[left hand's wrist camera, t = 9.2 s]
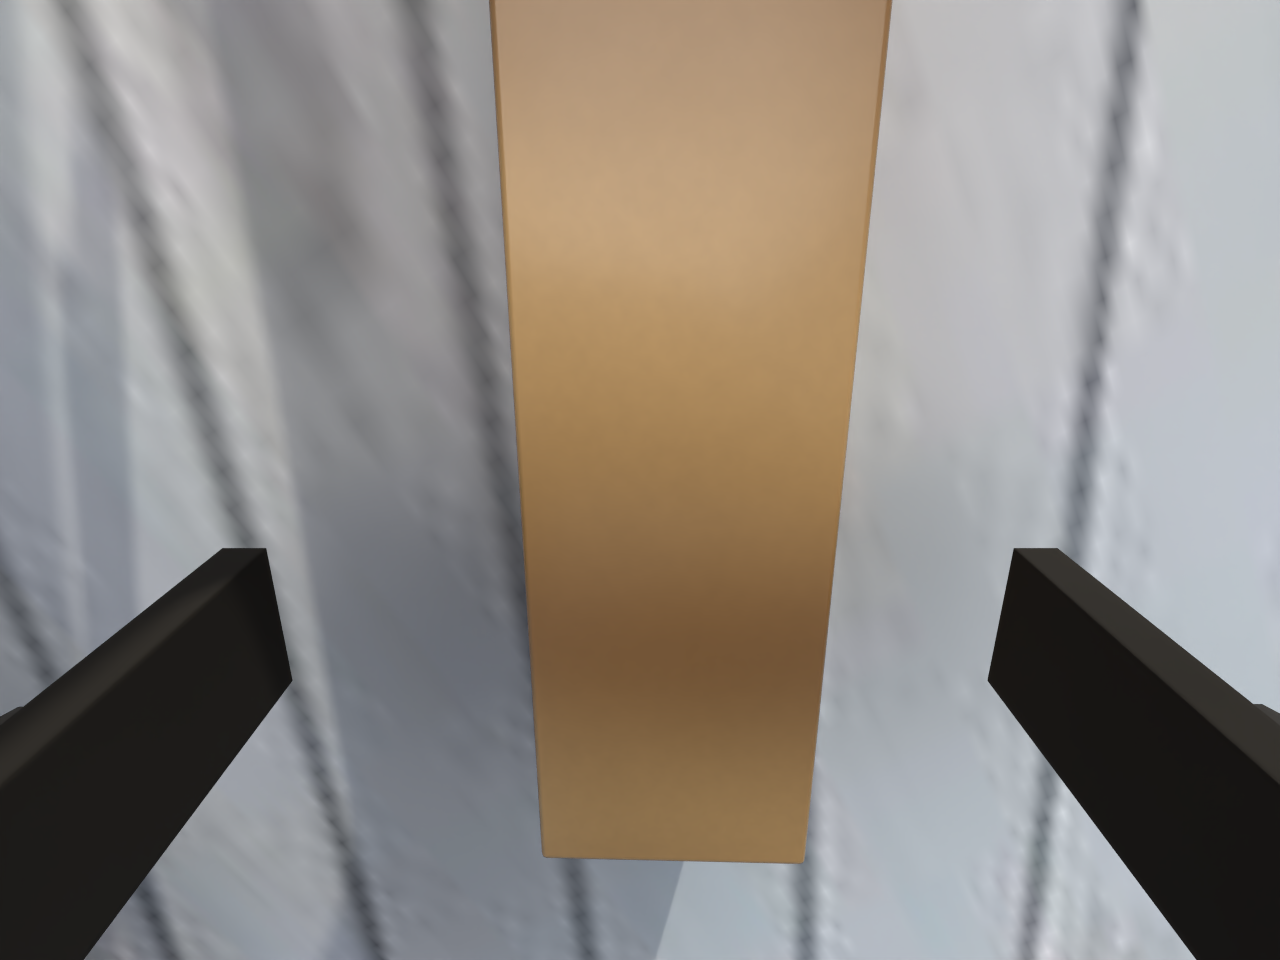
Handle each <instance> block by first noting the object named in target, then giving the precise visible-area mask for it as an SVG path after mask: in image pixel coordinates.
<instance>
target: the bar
mask: <svg viewBox="0 0 1280 960" xmlns="http://www.w3.org/2000/svg"><path fill="white" fill-rule="evenodd" d="M489 7H490V24H491V40H492V56H493V72H494V88H495V104H496V120H497V136H498V152H499V168H500V184H501V201H502V217H503V233H504V249H505V265H506V281H507V297H508V313H509V329H510V345H511V361H512V378H513V394H514V410H515V426H516V442H517V458H518V474H519V490H520V506H521V522H522V538H523V555H524V571H525V587H526V603H527V619H528V635H529V651H530V667H531V683H532V699H533V715H534V732H535V748H536V764H537V780H538V796H539V812H540V828H541V844H542V854H543V856H544V857H546V858H577V859H618V860H660V861H701V862H743V863H785V864H801V863H803V861H804V858H805V848H806V839H807V829H808V819H809V809H810V799H811V790H812V780H813V770H814V760H815V751H816V741H817V731H818V721H819V712H820V702H821V692H822V682H823V673H824V663H825V653H826V643H827V634H828V624H829V614H830V604H831V595H832V585H833V575H834V565H835V556H836V546H837V536H838V526H839V516H840V507H841V497H842V487H843V477H844V468H845V458H846V448H847V438H848V429H849V419H850V409H851V399H852V390H853V380H854V370H855V360H856V351H857V341H858V331H859V321H860V312H861V302H862V292H863V282H864V273H865V263H866V253H867V243H868V234H869V224H870V214H871V204H872V194H873V185H874V175H875V165H876V155H877V146H878V136H879V126H880V116H881V107H882V97H883V87H884V77H885V68H886V58H887V48H888V38H889V29H890V19H891V9H892V0H489Z"/></svg>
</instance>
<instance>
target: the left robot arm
mask: <svg viewBox="0 0 1280 960" xmlns="http://www.w3.org/2000/svg"><path fill="white" fill-rule="evenodd" d="M291 682H292V676H291V671H290V666H289V661H288V656H287V651H286V646H285V641H284V636H283V631H282V626H281V621H280V615H279V610H278V605H277V600H276V595H275V590H274V585H273V580H272V575H271V570H270V565H269V560H268V555H267V550H266V548H222V549H221V550H220V551H218V552H217V553H216V554H215V555H213V556H212V557H211V558H210V559H208V560H207V561H206V562H205V563H203V564H202V565H201V566H200V567H198V568H197V569H196V570H195V571H193V572H192V573H191V574H190V575H188V576H187V577H186V578H185V579H183V580H182V581H181V582H180V583H178V584H177V585H176V586H175V587H173V588H172V589H171V590H169V591H168V592H167V593H166V594H164V595H163V596H162V597H161V598H159V599H158V600H157V601H156V602H154V603H153V604H152V605H151V606H149V607H148V608H147V609H146V610H144V611H143V612H142V613H141V614H139V615H138V616H137V617H136V618H134V619H133V620H132V621H131V622H129V623H128V624H127V625H126V626H124V627H123V628H122V629H120V630H119V631H118V632H117V633H115V634H114V635H113V636H112V637H110V638H109V639H108V640H107V641H105V642H104V643H103V644H102V645H100V646H99V647H98V648H97V649H95V650H94V651H93V652H92V653H90V654H89V655H88V656H87V657H85V658H84V659H83V660H82V661H80V662H79V663H78V664H77V665H75V666H74V667H73V668H72V669H70V670H69V671H68V672H66V673H65V674H64V675H63V676H61V677H60V678H59V679H58V680H56V681H55V682H54V683H53V684H51V685H50V686H49V687H48V688H46V689H45V690H44V691H43V692H41V693H40V694H39V695H38V696H36V697H35V698H34V699H33V700H31V701H30V702H29V703H28V704H26V705H25V706H24V707H17V708H16V709H14V710H12V711H10V712H8V713H6V714H4V715H2V716H0V960H84V959H85V957H86V956H87V955H88V953H89V952H90V951H91V949H92V948H93V947H94V945H95V944H96V943H97V941H98V940H99V938H100V937H101V936H102V934H103V933H104V932H105V930H106V929H107V928H108V926H109V925H110V924H111V922H112V921H113V920H114V918H115V917H116V916H117V914H118V913H119V912H120V910H121V909H122V908H123V906H124V905H125V904H126V902H127V901H128V900H129V898H130V897H131V896H132V894H133V893H134V892H135V890H136V889H137V888H138V886H139V885H140V884H141V882H142V881H143V880H144V878H145V877H146V876H147V874H148V873H149V872H150V870H151V869H152V868H153V866H154V865H155V864H156V862H157V861H158V860H159V858H160V857H161V856H162V854H163V853H164V852H165V850H166V849H167V848H168V846H169V845H170V844H171V842H172V841H173V840H174V838H175V837H176V836H177V834H178V833H179V832H180V830H181V829H182V828H183V826H184V825H185V824H186V822H187V821H188V820H189V818H190V817H191V816H192V814H193V813H194V811H195V810H196V809H197V807H198V806H199V805H200V803H201V802H202V801H203V799H204V798H205V797H206V795H207V794H208V793H209V791H210V790H211V789H212V787H213V786H214V785H215V783H216V782H217V781H218V779H219V778H220V777H221V775H222V774H223V773H224V771H225V770H226V769H227V767H228V766H229V765H230V763H231V762H232V761H233V759H234V758H235V757H236V755H237V754H238V753H239V751H240V750H241V749H242V747H243V746H244V745H245V743H246V742H247V741H248V739H249V738H250V737H251V735H252V734H253V733H254V731H255V730H256V729H257V727H258V726H259V725H260V723H261V722H262V721H263V719H264V718H265V717H266V715H267V714H268V713H269V711H270V710H271V709H272V707H273V706H274V705H275V703H276V702H277V701H278V699H279V698H280V697H281V695H282V694H283V693H284V691H285V690H286V689H287V687H288V686H289V684H290V683H291ZM988 682H989V683H990V684H991V686H992V687H993V689H994V690H995V691H996V693H997V694H998V695H999V697H1000V698H1001V699H1002V701H1003V702H1004V703H1005V705H1006V706H1007V707H1008V709H1009V710H1010V711H1011V713H1012V714H1013V715H1014V717H1015V718H1016V719H1017V721H1018V722H1019V723H1020V725H1021V726H1022V727H1023V729H1024V730H1025V731H1026V733H1027V734H1028V735H1029V737H1030V738H1031V739H1032V741H1033V742H1034V743H1035V745H1036V746H1037V747H1038V749H1039V750H1040V751H1041V753H1042V754H1043V755H1044V757H1045V758H1046V759H1047V761H1048V762H1049V763H1050V765H1051V766H1052V767H1053V769H1054V770H1055V771H1056V773H1057V774H1058V775H1059V777H1060V778H1061V779H1062V781H1063V782H1064V783H1065V785H1066V786H1067V787H1068V789H1069V790H1070V791H1071V793H1072V794H1073V795H1074V797H1075V798H1076V799H1077V801H1078V802H1079V803H1080V805H1081V806H1082V807H1083V809H1084V810H1085V811H1086V813H1087V814H1088V816H1089V817H1090V818H1091V820H1092V821H1093V822H1094V824H1095V825H1096V826H1097V828H1098V829H1099V830H1100V832H1101V833H1102V834H1103V836H1104V837H1105V838H1106V840H1107V841H1108V842H1109V844H1110V845H1111V846H1112V848H1113V849H1114V850H1115V852H1116V853H1117V854H1118V856H1119V857H1120V858H1121V860H1122V861H1123V862H1124V864H1125V865H1126V866H1127V868H1128V869H1129V870H1130V872H1131V873H1132V874H1133V876H1134V877H1135V878H1136V880H1137V881H1138V882H1139V884H1140V885H1141V886H1142V888H1143V889H1144V890H1145V892H1146V893H1147V894H1148V896H1149V897H1150V898H1151V900H1152V901H1153V902H1154V904H1155V905H1156V906H1157V908H1158V909H1159V910H1160V912H1161V913H1162V914H1163V916H1164V917H1165V918H1166V920H1167V921H1168V922H1169V924H1170V925H1171V926H1172V928H1173V929H1174V930H1175V932H1176V933H1177V934H1178V936H1179V937H1180V938H1181V940H1182V941H1183V943H1184V944H1185V945H1186V947H1187V948H1188V949H1189V951H1190V952H1191V953H1192V955H1193V956H1194V957H1195V959H1196V960H1280V713H1278V712H1276V711H1274V710H1272V709H1270V708H1268V707H1266V706H1265V705H1263V704H1252V703H1251V702H1250V701H1249V700H1247V699H1246V698H1245V697H1244V696H1242V695H1241V694H1240V693H1239V692H1237V691H1236V690H1235V689H1234V688H1232V687H1231V686H1230V685H1229V684H1227V683H1226V682H1225V681H1224V680H1222V679H1221V678H1220V677H1219V676H1217V675H1216V674H1215V673H1214V672H1212V671H1211V670H1210V669H1208V668H1207V667H1206V666H1205V665H1203V664H1202V663H1201V662H1200V661H1198V660H1197V659H1196V658H1195V657H1193V656H1192V655H1191V654H1190V653H1188V652H1187V651H1186V650H1185V649H1183V648H1182V647H1181V646H1180V645H1178V644H1177V643H1176V642H1175V641H1173V640H1172V639H1171V638H1170V637H1168V636H1167V635H1166V634H1165V633H1163V632H1162V631H1161V630H1160V629H1158V628H1157V627H1156V626H1154V625H1153V624H1152V623H1151V622H1149V621H1148V620H1147V619H1146V618H1144V617H1143V616H1142V615H1141V614H1139V613H1138V612H1137V611H1136V610H1134V609H1133V608H1132V607H1131V606H1129V605H1128V604H1127V603H1126V602H1124V601H1123V600H1122V599H1121V598H1119V597H1118V596H1117V595H1116V594H1114V593H1113V592H1112V591H1111V590H1109V589H1108V588H1107V587H1105V586H1104V585H1103V584H1102V583H1100V582H1099V581H1098V580H1097V579H1095V578H1094V577H1093V576H1092V575H1090V574H1089V573H1088V572H1087V571H1085V570H1084V569H1083V568H1082V567H1080V566H1079V565H1078V564H1077V563H1075V562H1074V561H1073V560H1072V559H1070V558H1069V557H1068V556H1067V555H1065V554H1064V553H1063V552H1062V551H1060V550H1059V549H1058V548H1014V550H1013V555H1012V560H1011V565H1010V570H1009V575H1008V580H1007V585H1006V590H1005V595H1004V600H1003V605H1002V610H1001V615H1000V620H999V626H998V631H997V636H996V641H995V646H994V651H993V656H992V661H991V666H990V671H989V676H988Z"/></svg>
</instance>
